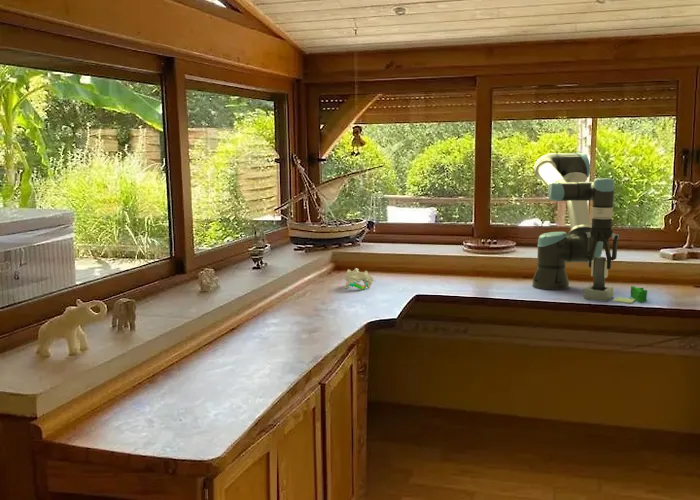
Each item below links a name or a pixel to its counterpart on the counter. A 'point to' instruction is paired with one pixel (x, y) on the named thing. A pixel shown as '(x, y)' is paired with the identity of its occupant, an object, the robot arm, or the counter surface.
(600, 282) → the grey rectangular bar
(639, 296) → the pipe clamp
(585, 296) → the housing
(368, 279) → the jaw support
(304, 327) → the counter surface
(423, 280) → the counter surface
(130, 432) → the counter surface
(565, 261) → the robot arm
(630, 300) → the pad
